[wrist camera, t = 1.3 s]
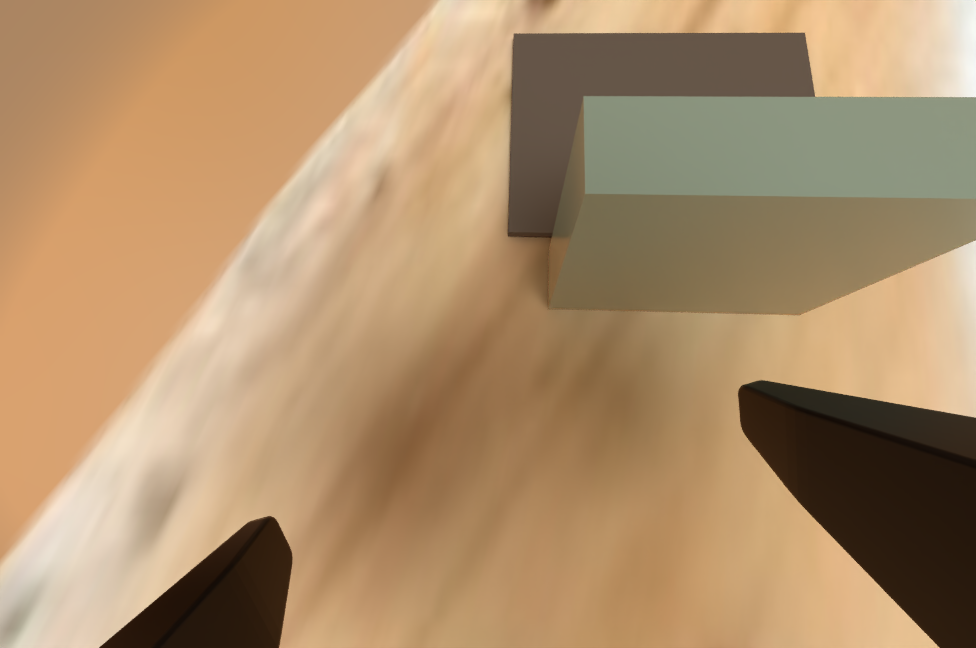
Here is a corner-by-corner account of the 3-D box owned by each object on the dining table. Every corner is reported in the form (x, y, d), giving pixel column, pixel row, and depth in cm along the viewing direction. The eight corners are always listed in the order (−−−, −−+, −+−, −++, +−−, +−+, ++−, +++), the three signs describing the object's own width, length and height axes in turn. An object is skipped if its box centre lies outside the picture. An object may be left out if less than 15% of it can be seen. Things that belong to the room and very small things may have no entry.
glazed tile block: (798, 315, 22) (1070, 200, 12) (548, 309, 23) (585, 193, 12) (790, 252, 23) (1037, 89, 12) (548, 247, 24) (583, 88, 13)
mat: (830, 241, 23) (837, 237, 22) (508, 236, 24) (508, 231, 23) (799, 40, 26) (804, 32, 25) (513, 40, 27) (513, 33, 26)
